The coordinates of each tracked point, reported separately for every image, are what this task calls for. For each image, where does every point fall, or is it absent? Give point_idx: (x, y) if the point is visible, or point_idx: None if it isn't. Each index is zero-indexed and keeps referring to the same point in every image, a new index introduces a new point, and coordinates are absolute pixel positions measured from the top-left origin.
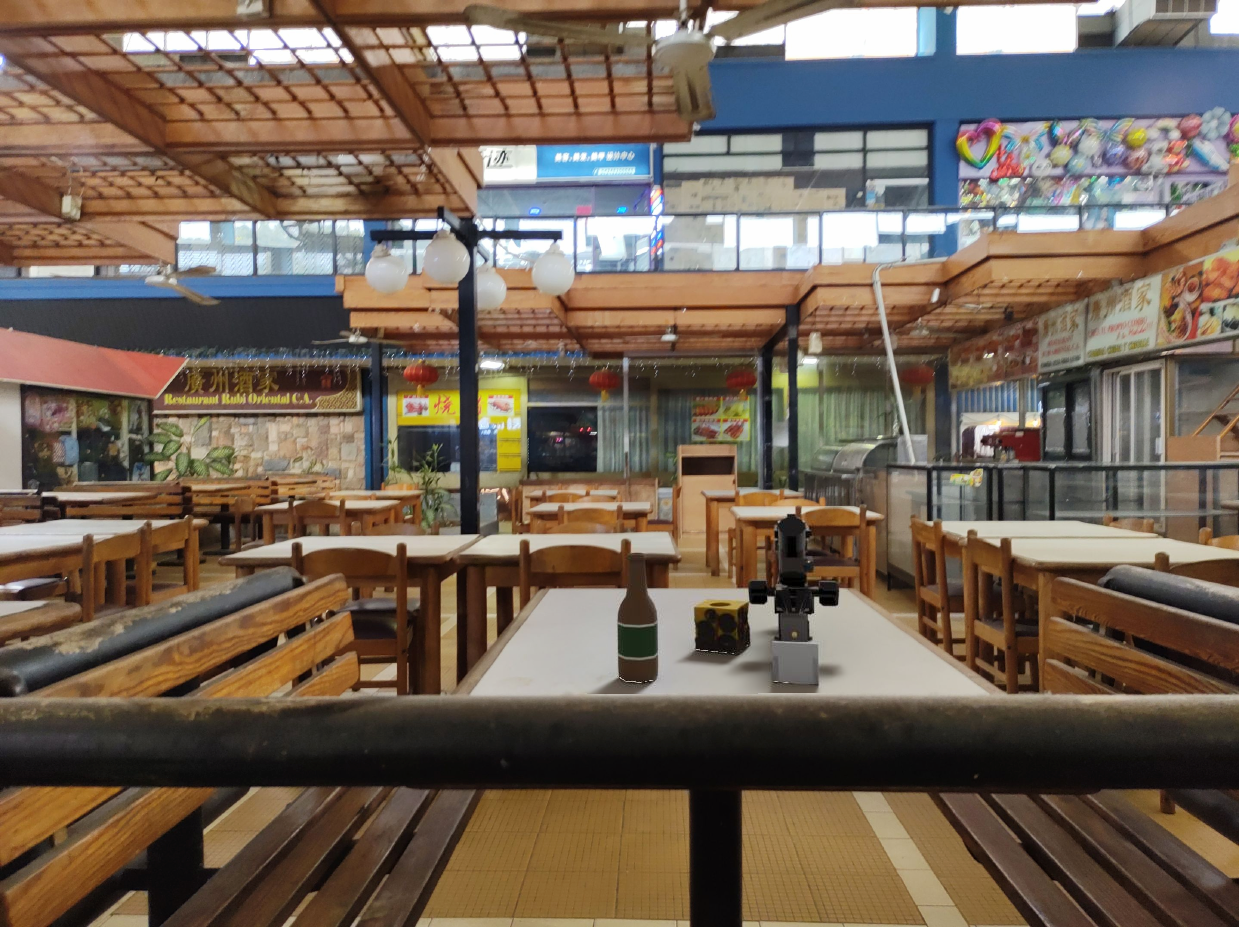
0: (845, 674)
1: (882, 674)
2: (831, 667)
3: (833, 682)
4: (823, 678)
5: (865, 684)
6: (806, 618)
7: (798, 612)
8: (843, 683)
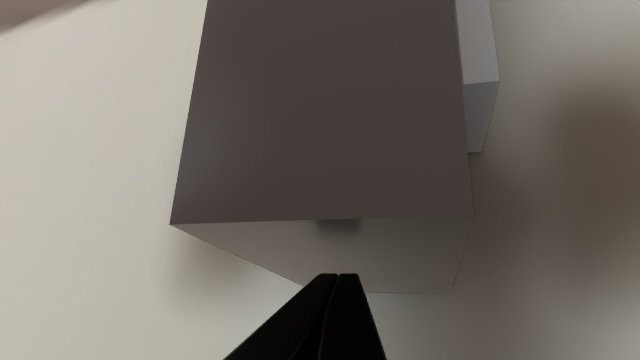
0: None
1: (63, 175)
2: None
3: None
4: None
5: (153, 52)
6: (211, 5)
7: (243, 348)
8: None
